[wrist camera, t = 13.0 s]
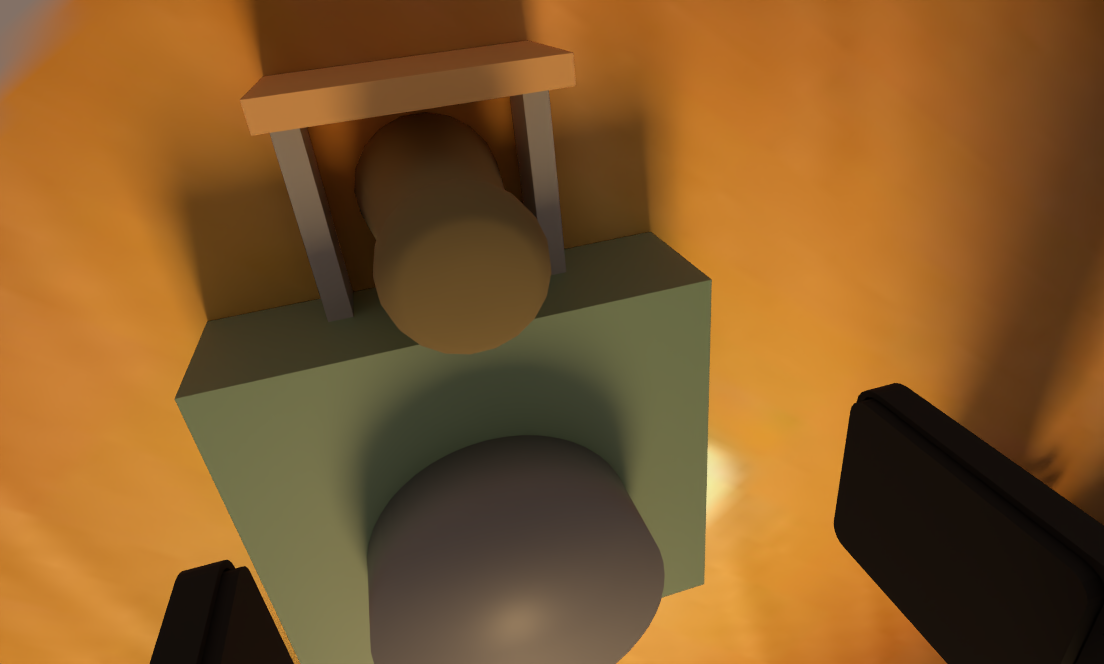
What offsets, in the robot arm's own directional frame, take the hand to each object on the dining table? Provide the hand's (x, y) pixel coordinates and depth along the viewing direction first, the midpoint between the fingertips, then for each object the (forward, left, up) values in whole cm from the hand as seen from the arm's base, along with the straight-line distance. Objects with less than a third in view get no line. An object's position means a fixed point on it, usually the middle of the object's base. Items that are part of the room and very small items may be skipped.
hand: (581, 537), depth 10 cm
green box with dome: (0, +8, -20) cm, 22 cm away
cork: (0, 0, -20) cm, 20 cm away
